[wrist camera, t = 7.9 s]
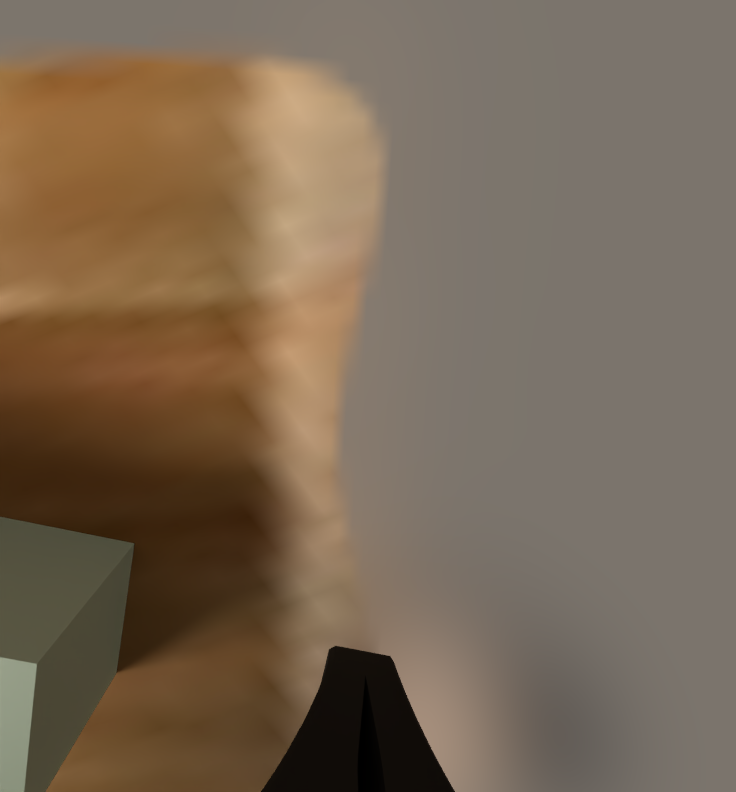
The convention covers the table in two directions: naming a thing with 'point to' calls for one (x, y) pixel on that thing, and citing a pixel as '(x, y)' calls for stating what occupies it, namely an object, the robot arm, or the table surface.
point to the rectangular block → (54, 642)
